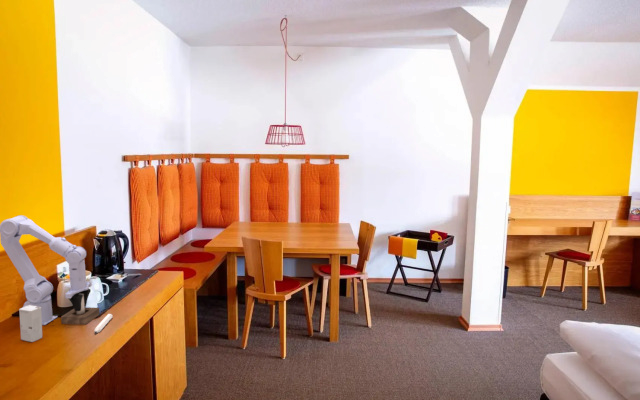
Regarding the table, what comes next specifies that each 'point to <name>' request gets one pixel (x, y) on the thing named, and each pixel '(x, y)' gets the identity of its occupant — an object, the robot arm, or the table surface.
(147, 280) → the table surface
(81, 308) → the peg
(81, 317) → the brown square frame
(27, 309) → the skincare box
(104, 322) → the marker
